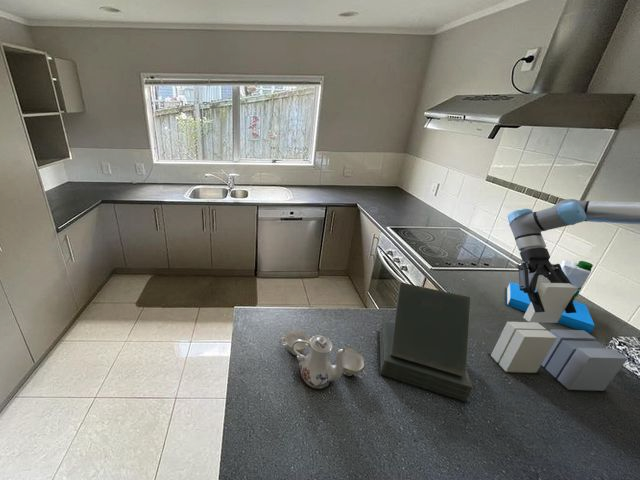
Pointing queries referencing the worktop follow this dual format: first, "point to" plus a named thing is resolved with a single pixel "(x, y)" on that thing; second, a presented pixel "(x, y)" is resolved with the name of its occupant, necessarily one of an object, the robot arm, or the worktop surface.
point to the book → (573, 320)
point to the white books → (523, 347)
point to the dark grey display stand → (428, 341)
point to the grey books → (582, 361)
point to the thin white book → (551, 302)
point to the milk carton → (576, 273)
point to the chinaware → (322, 359)
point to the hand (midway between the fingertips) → (555, 312)
